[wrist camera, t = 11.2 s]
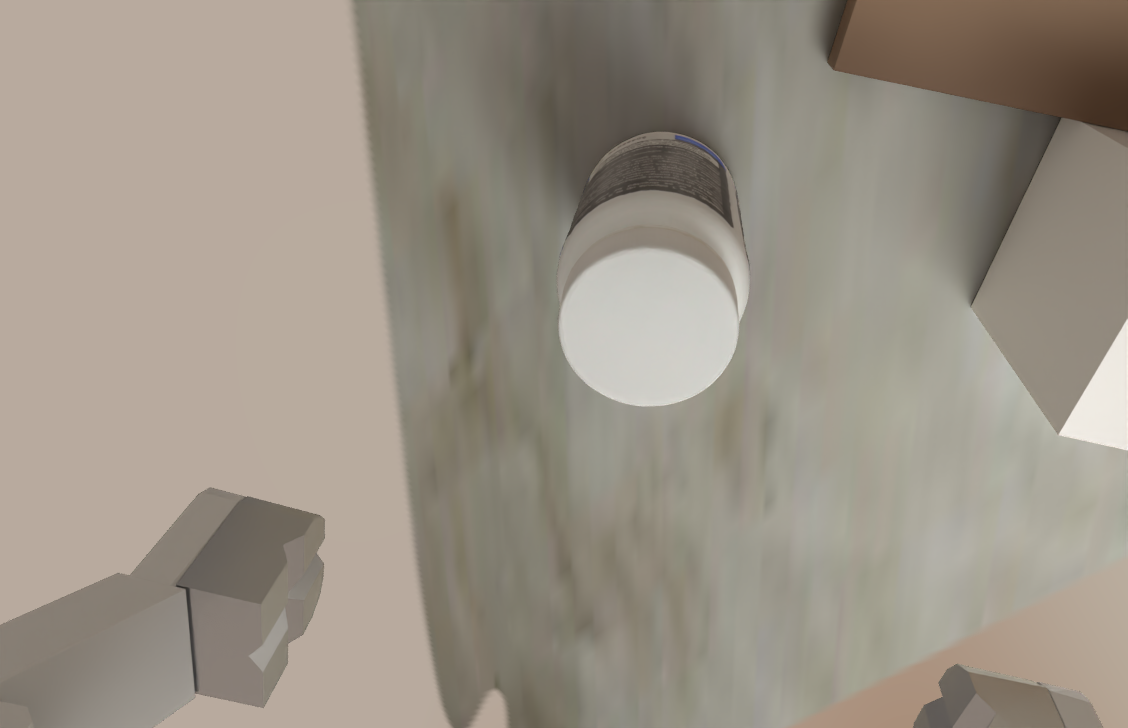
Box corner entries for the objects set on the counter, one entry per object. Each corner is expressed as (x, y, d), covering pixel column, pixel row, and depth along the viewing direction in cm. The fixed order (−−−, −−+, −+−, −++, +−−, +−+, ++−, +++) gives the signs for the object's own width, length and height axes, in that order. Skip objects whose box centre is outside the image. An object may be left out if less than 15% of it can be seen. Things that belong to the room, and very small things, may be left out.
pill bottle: (553, 184, 25) (496, 299, 18) (685, 97, 23) (681, 184, 16) (637, 303, 27) (615, 453, 19) (767, 230, 25) (797, 364, 18)
